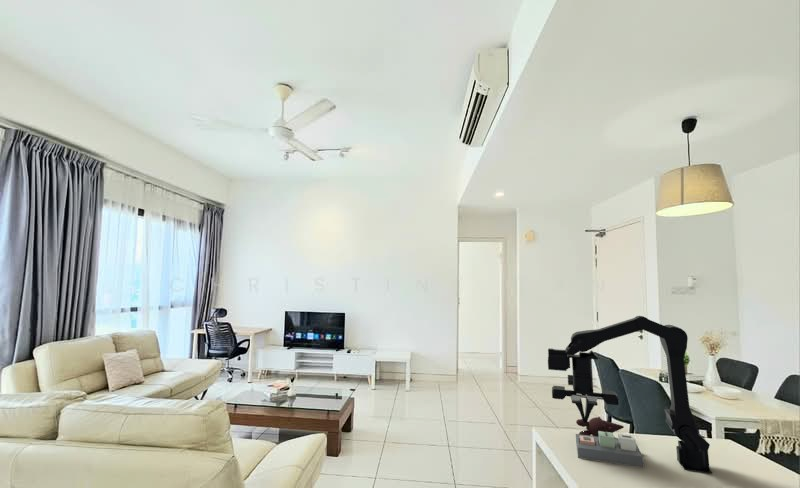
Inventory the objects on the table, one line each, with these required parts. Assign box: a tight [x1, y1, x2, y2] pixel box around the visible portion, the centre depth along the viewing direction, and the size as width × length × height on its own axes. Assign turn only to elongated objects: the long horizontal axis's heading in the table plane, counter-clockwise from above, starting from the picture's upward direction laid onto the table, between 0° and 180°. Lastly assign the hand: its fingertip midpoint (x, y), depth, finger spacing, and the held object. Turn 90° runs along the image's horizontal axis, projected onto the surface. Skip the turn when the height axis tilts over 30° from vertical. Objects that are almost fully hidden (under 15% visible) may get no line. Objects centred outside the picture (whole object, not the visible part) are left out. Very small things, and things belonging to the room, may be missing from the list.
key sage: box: [598, 431, 616, 448], centre depth 116 cm, size 4×4×4 cm
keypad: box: [575, 433, 645, 468], centre depth 116 cm, size 17×11×3 cm, turn 68°
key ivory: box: [617, 433, 637, 451], centre depth 114 cm, size 4×4×4 cm
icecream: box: [576, 416, 625, 437], centre depth 129 cm, size 7×7×15 cm
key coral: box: [580, 436, 595, 446], centre depth 118 cm, size 4×4×4 cm
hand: (585, 422), depth 119 cm, fingers closed
